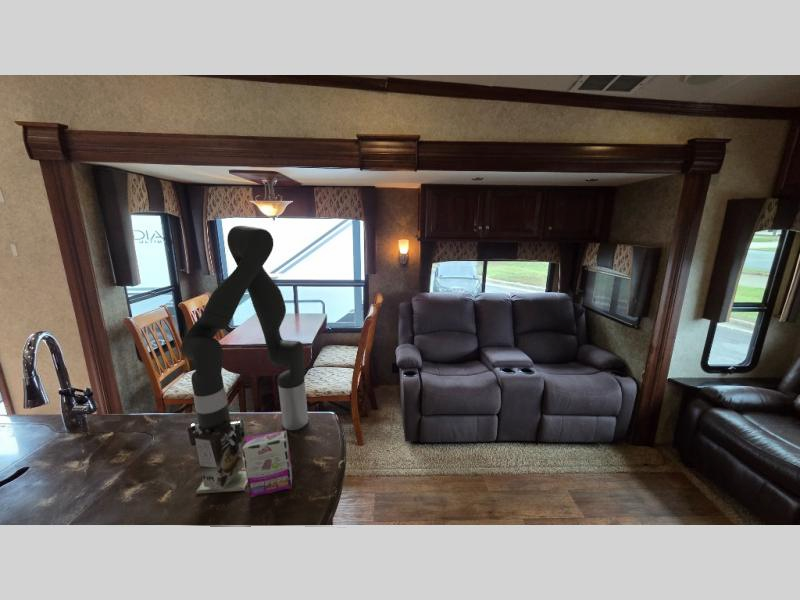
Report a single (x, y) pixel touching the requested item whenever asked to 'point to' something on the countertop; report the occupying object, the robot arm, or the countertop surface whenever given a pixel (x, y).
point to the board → (234, 485)
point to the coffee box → (217, 459)
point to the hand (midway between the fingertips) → (220, 454)
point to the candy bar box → (267, 463)
